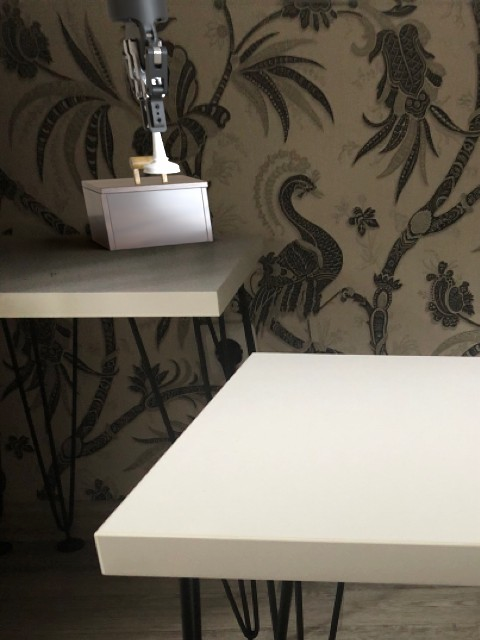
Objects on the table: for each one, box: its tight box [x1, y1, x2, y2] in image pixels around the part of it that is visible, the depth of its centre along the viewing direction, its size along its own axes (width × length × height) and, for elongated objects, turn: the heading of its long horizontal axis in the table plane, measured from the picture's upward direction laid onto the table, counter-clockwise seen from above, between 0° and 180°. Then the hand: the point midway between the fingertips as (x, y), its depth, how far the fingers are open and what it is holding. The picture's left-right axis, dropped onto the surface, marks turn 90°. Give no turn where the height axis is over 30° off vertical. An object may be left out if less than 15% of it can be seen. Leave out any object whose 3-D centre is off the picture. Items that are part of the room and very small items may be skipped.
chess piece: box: [142, 106, 181, 175], centre depth 124 cm, size 5×5×10 cm
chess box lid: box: [81, 155, 209, 194], centre depth 137 cm, size 12×16×4 cm
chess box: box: [82, 186, 214, 251], centre depth 140 cm, size 12×16×9 cm
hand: (155, 131), depth 124 cm, fingers closed on chess piece
